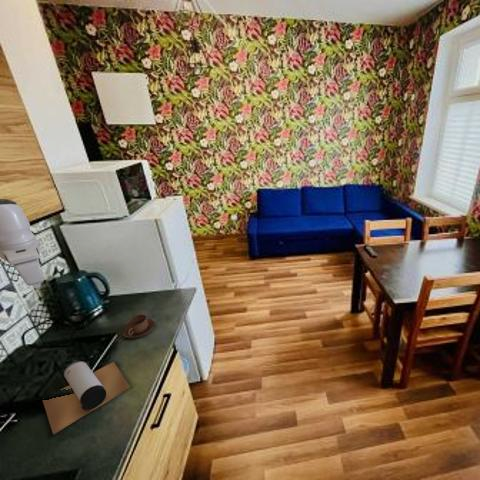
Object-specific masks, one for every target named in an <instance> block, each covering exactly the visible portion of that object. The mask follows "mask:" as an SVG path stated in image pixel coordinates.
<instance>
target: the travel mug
mask: <svg viewBox="0 0 480 480" xmlns="http://www.w3.org/2000/svg"><path fill="white" fill-rule="evenodd" d="M93 372H94V371H92V370H91V368H90V367H89V365H88V364H87V363H86V362H85V361H84V360H83V361H81V360H78V361H75V362H73V363H71V364H69V365H68V366H67V367H66V368H65V369H64V371H63V376H64V378H65V380H66V381H67V383H68V386H69V385H70V386H71V388H72V389H73V391H74V393H75V394H76V396H77V397H78V399H79V401H80V402H81V403H82V405H83V406H82V409H83V410H86V409H88V410H89V409H93V408H96V407H97V406H99V405H100V404H101V403H102V402H103V401H104V399H105V398H106V390H105V389H104V387H103V386H102V384H101V383H100V382H99V380H98V379H97V378H96V376H95V375H94V374H93ZM96 409H97V408H96Z"/></svg>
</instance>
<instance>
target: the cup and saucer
mask: <svg viewBox="0 0 480 480" xmlns="http://www.w3.org/2000/svg"><path fill="white" fill-rule="evenodd" d="M154 327H155V320H153V319H151V318H147V316H146V315H145V314H137V315H134V316H132V317H130V318H128V319H127V321H126V326H125V327H124V328H123V330H122V336H123V337H124V338H126V339H137V338H141V337H143V336H146V335H147V334H148V333H150V332H151V331H152V330H154Z"/></svg>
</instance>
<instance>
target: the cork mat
mask: <svg viewBox="0 0 480 480" xmlns="http://www.w3.org/2000/svg"><path fill="white" fill-rule="evenodd" d="M92 372H93V374H94V375H95V376H96V378H97V379H98V380H99V382H100V383H101V384H102V386H103V387H104V389H105V390H106V398H105V399H104V401H103V402H102V403H101V404H100V405H99V406H97V407H96V408H93V409H89V410H88V409H86V410H83V409H82V406H83V405H82V403H81V402H80V401H79V399H78V397H77V396H76V394H75V393H74V394H70V395H65V396H61V397H56V398H52V399H49V400H42V404H43V406H44V409H45V414H46V416H47V421H48V423H49V426H50V429H51V432H52V435H56V434H57V433H59V432H60V431H63V429H66V428H67V427H69V426H70V425H72V424H73V423H76V422H77V421H79V420H80V419H82V418H83V417H85V416H87V415H88V414H90V413H91V412H94V411H95V410H97V409H98V408H100V407H102V406H103V405H105V404H106V403H108V402H110V401H112V400H113V399H114V398H116V397H118V396H119V395H121V394H122V393H124V392H126V391H127V390H130V389H131V386H130V384H129V383H128V381H127V380H126V378H125V377H124V375H123V373H122V372H121V370H120V369H119V367H118V365H117V364H116V362H114V361H112V362H110V363H108V364H107V365H104V366H102V367H101V368H98V369H97V370H95V371H92ZM63 389H66V390H68V389H71V386H70V385H69V384H68V385H67V386H65V387H63V388H61V389H60V390H63Z"/></svg>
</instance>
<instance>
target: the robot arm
mask: <svg viewBox="0 0 480 480" xmlns="http://www.w3.org/2000/svg"><path fill="white" fill-rule="evenodd" d="M41 251H42V249H41V246H40V245H39V242H38V240H37V237H36V235H35V234H34V233H33V232H32V230H31V224H30V221H29V219H28V217H27V215H26V213H25V212H24V210H23V208H22V207H21V206H20V204H18V203H17V202H15V201H13V200H11V199H5V198H4V199H3V198H0V259H1V260H4V261H6V262H7V263H8V264H9V265H10V266H13V268H14V269H15V270H16V271H17V273H18V274H19V276H20V277H21V279H22V280H23V282H24V283H25V284H26V286H29V287H30V286H32V288H33V289H38V288H41V287H42V284H41V283H43V282H44V275H43V272H42V267H41V265H40V260H39V259H40V258H41V256H40V252H41Z"/></svg>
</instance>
